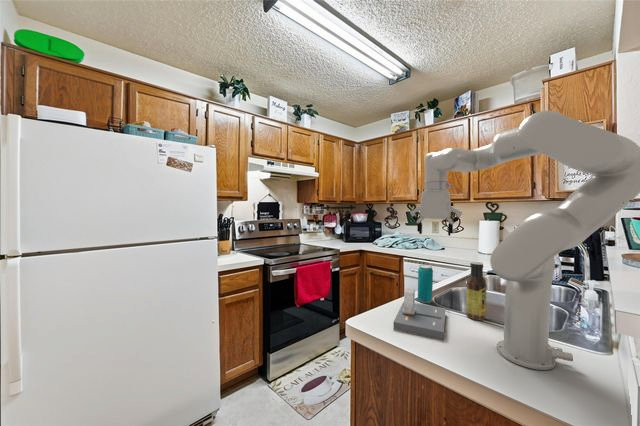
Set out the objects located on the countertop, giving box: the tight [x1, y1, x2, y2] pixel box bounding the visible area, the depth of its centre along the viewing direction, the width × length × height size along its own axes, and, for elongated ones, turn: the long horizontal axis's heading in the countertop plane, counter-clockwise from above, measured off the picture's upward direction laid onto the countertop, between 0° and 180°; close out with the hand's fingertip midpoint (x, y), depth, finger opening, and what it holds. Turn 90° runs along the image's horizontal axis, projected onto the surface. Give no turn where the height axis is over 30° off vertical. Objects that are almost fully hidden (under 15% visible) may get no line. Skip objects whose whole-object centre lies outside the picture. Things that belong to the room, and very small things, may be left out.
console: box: [393, 301, 446, 341], centre depth 92 cm, size 15×20×3 cm
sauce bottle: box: [465, 261, 487, 321], centre depth 95 cm, size 6×6×20 cm
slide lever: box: [402, 287, 416, 315], centre depth 93 cm, size 4×5×8 cm
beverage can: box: [417, 264, 434, 304], centre depth 110 cm, size 6×6×15 cm
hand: (434, 234), depth 95 cm, fingers open, 9 cm apart
